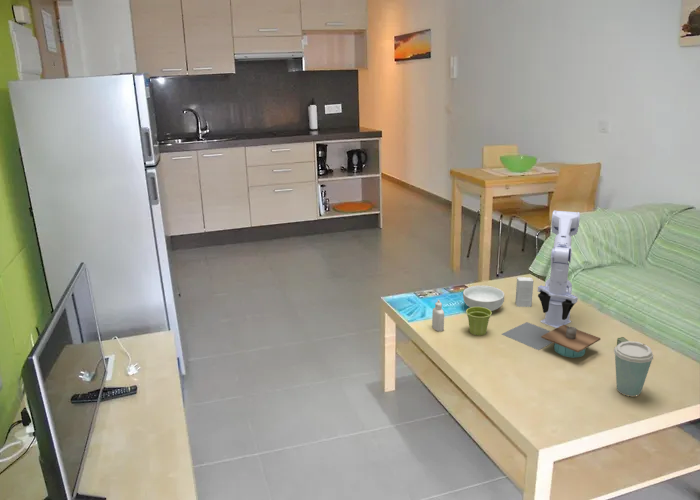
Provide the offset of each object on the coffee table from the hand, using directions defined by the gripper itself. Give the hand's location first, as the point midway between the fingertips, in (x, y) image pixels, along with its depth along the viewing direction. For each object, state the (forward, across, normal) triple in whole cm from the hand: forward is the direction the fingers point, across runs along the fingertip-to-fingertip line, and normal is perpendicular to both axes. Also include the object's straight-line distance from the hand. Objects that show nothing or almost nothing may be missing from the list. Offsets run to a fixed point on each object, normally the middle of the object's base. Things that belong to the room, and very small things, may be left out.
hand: (554, 315), depth 196 cm
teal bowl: (+10, +8, -2) cm, 13 cm away
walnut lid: (+5, +8, -2) cm, 10 cm away
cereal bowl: (+11, -35, +4) cm, 37 cm away
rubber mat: (+10, -7, -2) cm, 13 cm away
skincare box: (+11, -26, +19) cm, 34 cm away
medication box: (+11, +23, +12) cm, 28 cm away
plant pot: (+11, -22, -15) cm, 29 cm away
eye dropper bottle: (+11, -34, -24) cm, 43 cm away
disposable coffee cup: (+11, +33, -11) cm, 36 cm away
